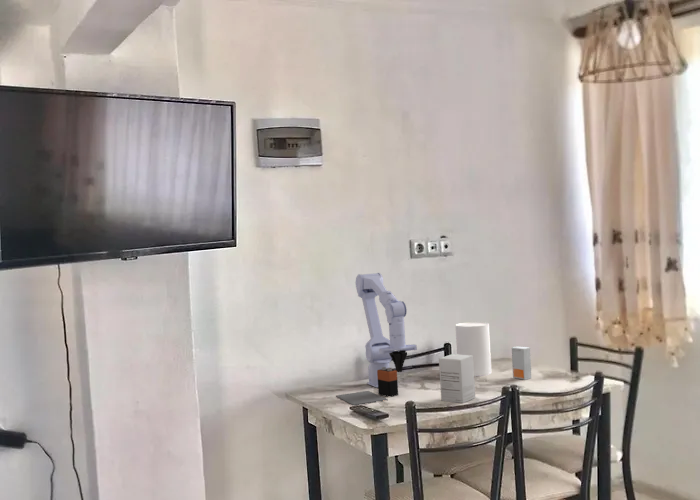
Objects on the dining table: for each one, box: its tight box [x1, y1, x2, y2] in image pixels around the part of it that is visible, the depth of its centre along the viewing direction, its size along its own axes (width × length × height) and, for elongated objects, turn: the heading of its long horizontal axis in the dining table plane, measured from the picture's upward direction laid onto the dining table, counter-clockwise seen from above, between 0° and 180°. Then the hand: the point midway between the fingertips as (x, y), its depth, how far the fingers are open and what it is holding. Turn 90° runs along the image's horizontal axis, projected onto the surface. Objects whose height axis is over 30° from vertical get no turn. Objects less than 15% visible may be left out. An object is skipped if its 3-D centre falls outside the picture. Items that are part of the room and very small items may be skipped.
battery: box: [377, 367, 399, 397], centre depth 265 cm, size 4×7×10 cm, turn 36°
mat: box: [335, 390, 388, 406], centre depth 261 cm, size 17×13×1 cm
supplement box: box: [438, 353, 476, 404], centre depth 251 cm, size 9×9×15 cm
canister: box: [455, 321, 492, 377], centre depth 296 cm, size 14×14×20 cm
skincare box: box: [511, 345, 532, 381], centre depth 281 cm, size 6×4×12 cm
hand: (399, 371), depth 266 cm, fingers closed
